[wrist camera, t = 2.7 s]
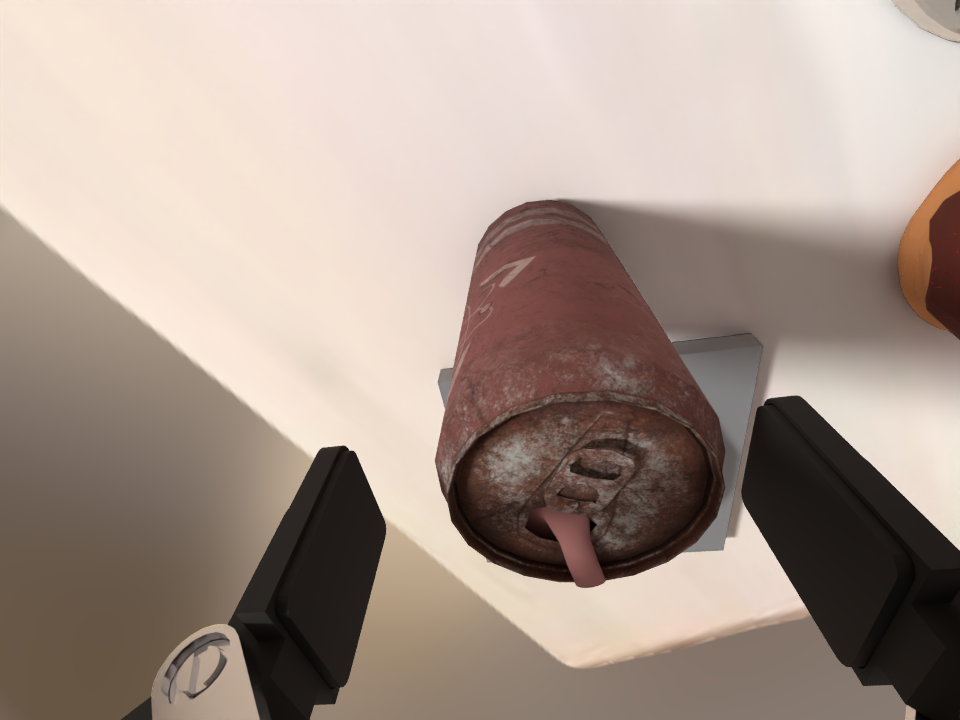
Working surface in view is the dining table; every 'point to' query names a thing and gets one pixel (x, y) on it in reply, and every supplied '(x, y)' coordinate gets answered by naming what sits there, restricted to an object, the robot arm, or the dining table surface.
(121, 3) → the dining table surface
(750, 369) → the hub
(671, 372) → the can
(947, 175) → the donut
